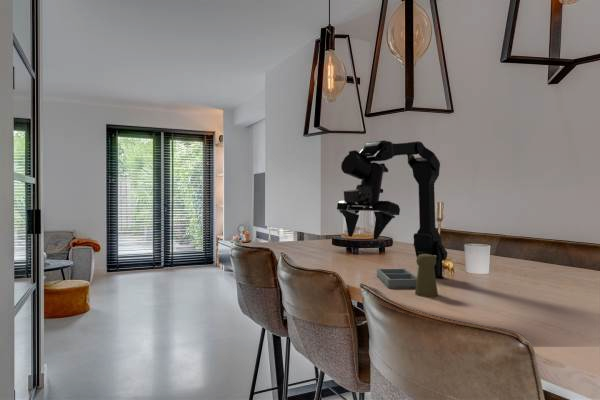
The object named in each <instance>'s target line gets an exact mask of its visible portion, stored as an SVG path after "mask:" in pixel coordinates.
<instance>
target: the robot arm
mask: <svg viewBox="0 0 600 400" xmlns="http://www.w3.org/2000/svg"><path fill="white" fill-rule="evenodd" d="M405 155H406V157H407V164H408V165H409V167H410V168H411V169H412V176H413V178H414V179H415V181H416V183H417V184H418V208H419V209H418V213H419V214H418V217H419V218H418V219H419V229H418V230H417V231H416V233H414V234H413V246H414V251H415V257H416V258H417V257H418V255H421V254H430V255H433V256H435V258H436V264H435V266H434V270H435V278H436V279H445V276H444V275H443V261H446V260H447V258H448V252H447V249H446V248H445V247H444V245H443V243H442V237H441V234H440V233H439V231H438V229H437V227H436V204H435V203H436V201H435V200H436V196H435V183H436V181H437V180H438V178H439V176H440V168H441V162H440V160H439V159H438V157H437V155H436V154H435V153H434V151H431V149H429V148H427V147H425V145H424V144H423V142H421V141H417V140H416V141H410V142H401V143H400V142H399V143H393V142H392V141H389V140H377V141H369V142H368V141H367V142H365V143H364V146H363V148H362V149H361V150H360V151H358V150H356V149H351V150H349V152H348V154H347V155H346V156H345V157H344V159H343V160H342V162H341V165H340V166H341V167H340V168H341V171H342V172H343V173H344V174H345V175H348V176H351V177H353V178H356V179H358V180H361V181H360V184H357V185H356V189H350V190H343V200H339V201H338V202H337V204H336V205H337V207H336V210H337V211H339V213H340V214H342V215H343V217H344V220H345V223H346V229H347V230H346V231H347V235H348V237H350V238H351V237H353V235H354V233H355V230H356V226H357V224H358V221H359V217H360V214H359V212H360V211H362V212H363V211H364V212H366V211H367V212H373V214H374V216H375V217H374V218H375V223H374V229H373V239H374V240H378V239H379V237H380V235H381V234H382V232H383V231H384V230H385V229H386V227H387V225H389V223H390V222H391V221H392V220H393V219H395V218H396V216H400V212H401V207H400V205H399V204H397V203H394V202H393V201H390V200H379V199H380V196H381V194H384V189H383V188H382V183H383V175H384V173H388V172H389V168H388V167H387V166H386V164H385V163H378V162H384V161H388V160H391V159H392V158H393V157H395V156H396V157H397V156H405ZM415 155H418V156H419V157H415Z"/></svg>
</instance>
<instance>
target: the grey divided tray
mask: <svg viewBox="0 0 600 400" xmlns="http://www.w3.org/2000/svg"><path fill="white" fill-rule="evenodd" d="M376 277H377V279H379V280H380V282H382V284H384V285H385V286H386V287H387V288H388V289H416V282H417V275H415V274H414V273H412V272H411V271H410V270H408V269H406V268H376Z"/></svg>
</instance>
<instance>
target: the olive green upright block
mask: <svg viewBox="0 0 600 400" xmlns="http://www.w3.org/2000/svg"><path fill="white" fill-rule="evenodd" d="M435 256H436V255H430V254H421V255H418V257H416V262H415V263H416V265H417V266H418V269H417V275H416V276H417V282H416V288H415V289H414V290H415V292H414V294H415V296H419V297H424V298H425V297H426V298H432V297H433V298H434V297H437V296H439V294H438V293H439V292H438V287H437V286H438V285H437V278H435V270H434V266H435V264H436V258H435Z"/></svg>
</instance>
